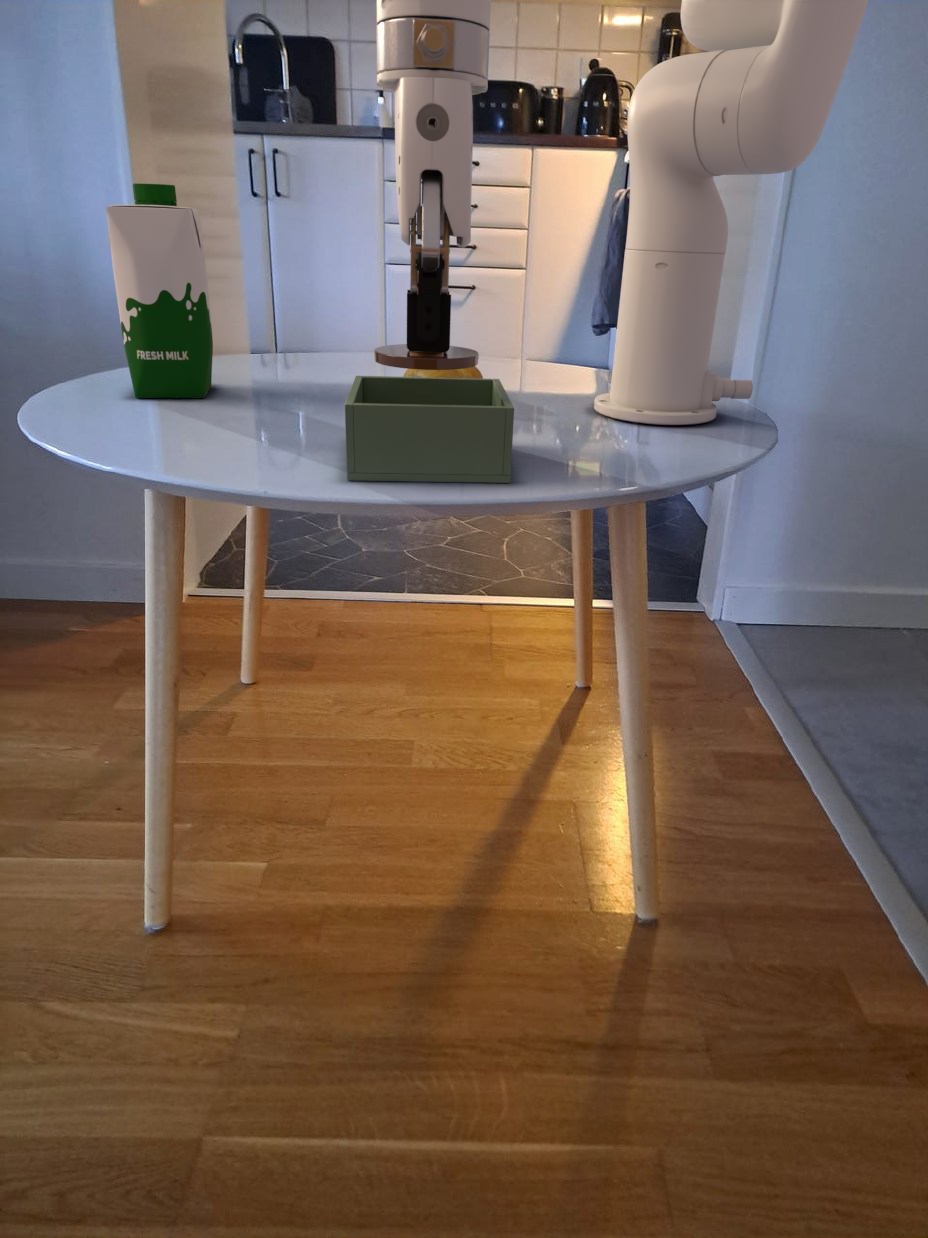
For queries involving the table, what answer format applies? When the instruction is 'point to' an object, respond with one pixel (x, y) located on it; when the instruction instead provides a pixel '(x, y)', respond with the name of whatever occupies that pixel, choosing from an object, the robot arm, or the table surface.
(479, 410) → the tub
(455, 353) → the wooden peg stand
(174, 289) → the milk carton
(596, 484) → the table surface
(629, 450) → the table surface
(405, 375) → the bread roll
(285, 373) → the table surface
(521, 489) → the table surface
